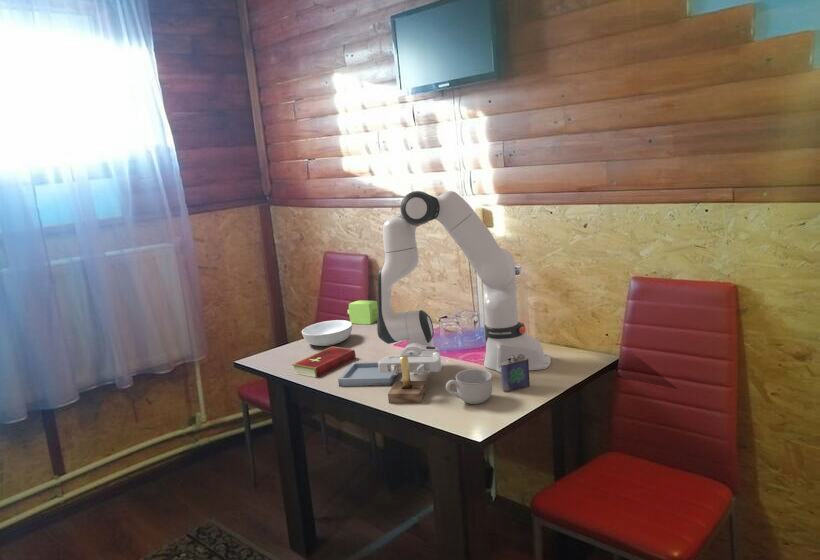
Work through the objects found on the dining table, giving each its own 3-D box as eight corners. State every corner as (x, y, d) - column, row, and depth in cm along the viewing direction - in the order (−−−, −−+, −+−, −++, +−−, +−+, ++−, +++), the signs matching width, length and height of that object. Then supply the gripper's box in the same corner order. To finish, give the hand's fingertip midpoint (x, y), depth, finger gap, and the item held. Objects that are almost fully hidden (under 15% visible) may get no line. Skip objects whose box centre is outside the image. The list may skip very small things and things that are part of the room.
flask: (505, 393, 187) (502, 359, 184) (500, 390, 189) (497, 357, 187) (531, 386, 189) (529, 353, 187) (526, 383, 192) (524, 350, 190)
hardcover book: (356, 359, 234) (354, 349, 233) (316, 379, 218) (314, 367, 217) (333, 355, 241) (332, 345, 240) (293, 374, 225) (291, 363, 224)
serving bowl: (333, 332, 272) (331, 317, 271) (364, 339, 257) (362, 323, 256) (294, 346, 258) (291, 330, 256) (324, 354, 243) (321, 337, 242)
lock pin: (412, 394, 193) (408, 355, 190) (411, 397, 191) (406, 357, 188) (405, 394, 194) (400, 355, 191) (403, 397, 191) (399, 358, 189)
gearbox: (389, 319, 284) (387, 299, 283) (379, 325, 276) (377, 304, 274) (355, 318, 292) (353, 298, 290) (344, 323, 283) (342, 303, 282)
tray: (401, 367, 218) (401, 361, 217) (390, 385, 203) (389, 378, 202) (353, 369, 222) (352, 362, 222) (339, 386, 207) (338, 379, 206)
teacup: (490, 391, 189) (488, 366, 188) (496, 405, 179) (494, 379, 177) (445, 396, 189) (442, 372, 187) (449, 411, 178) (446, 385, 177)
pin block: (427, 389, 196) (426, 380, 195) (420, 402, 186) (419, 393, 186) (396, 390, 198) (395, 381, 198) (388, 402, 189) (387, 393, 188)
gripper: (382, 349, 205) (371, 364, 192) (443, 347, 200) (435, 362, 187) (385, 367, 206) (373, 383, 193) (445, 365, 201) (437, 381, 188)
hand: (404, 372), depth 190 cm, fingers open, 5 cm apart
